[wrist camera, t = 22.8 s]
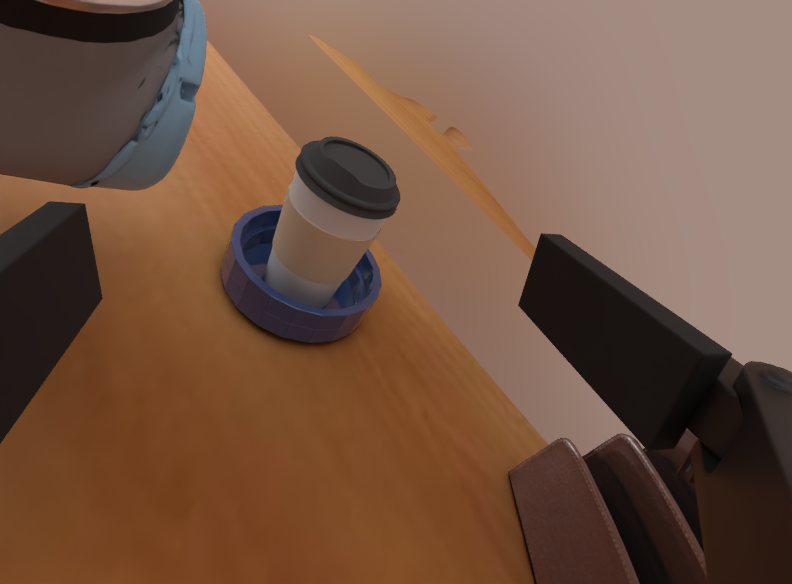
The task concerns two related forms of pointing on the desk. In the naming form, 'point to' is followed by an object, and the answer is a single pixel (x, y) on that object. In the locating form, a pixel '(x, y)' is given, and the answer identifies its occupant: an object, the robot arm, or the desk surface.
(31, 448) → the desk surface
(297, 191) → the coffee cup
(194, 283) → the desk surface
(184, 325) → the desk surface
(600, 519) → the letter holder
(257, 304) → the bowl
